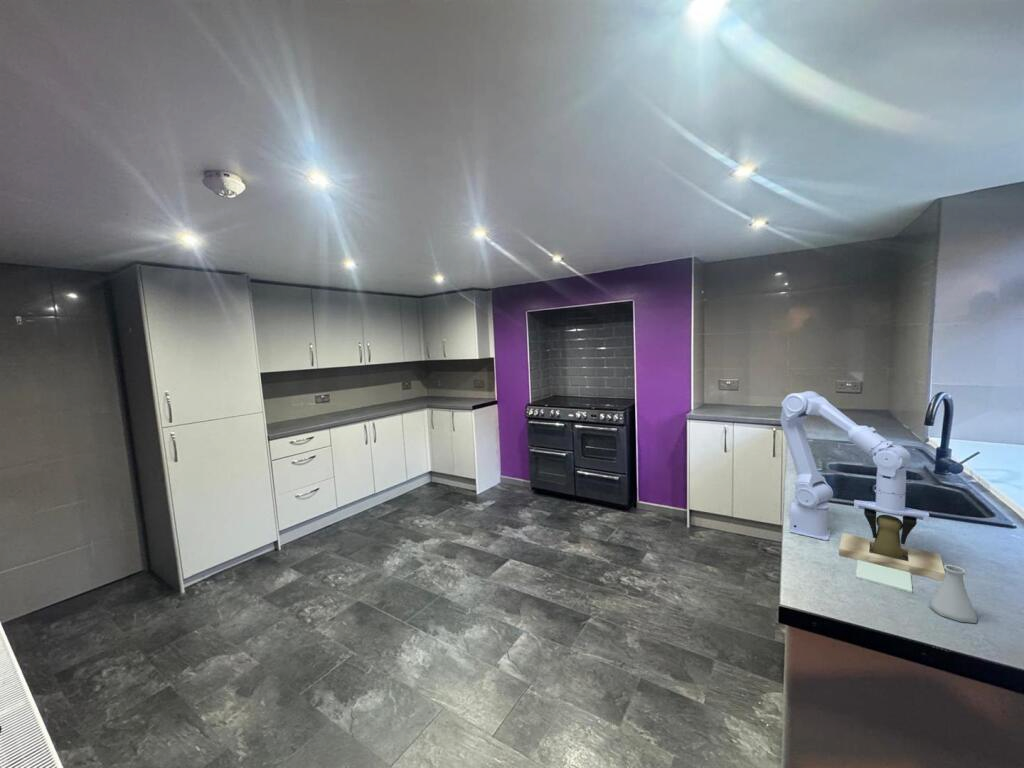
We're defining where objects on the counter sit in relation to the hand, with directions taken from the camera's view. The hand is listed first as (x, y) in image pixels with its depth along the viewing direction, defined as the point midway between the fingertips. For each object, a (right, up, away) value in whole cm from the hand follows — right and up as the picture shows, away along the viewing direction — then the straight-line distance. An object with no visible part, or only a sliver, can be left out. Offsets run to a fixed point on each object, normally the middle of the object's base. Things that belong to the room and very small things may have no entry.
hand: (888, 539), depth 108 cm
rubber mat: (-9, -6, -8) cm, 13 cm away
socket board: (0, -5, 0) cm, 5 cm away
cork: (0, -5, +1) cm, 5 cm away
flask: (-7, -8, -22) cm, 24 cm away
